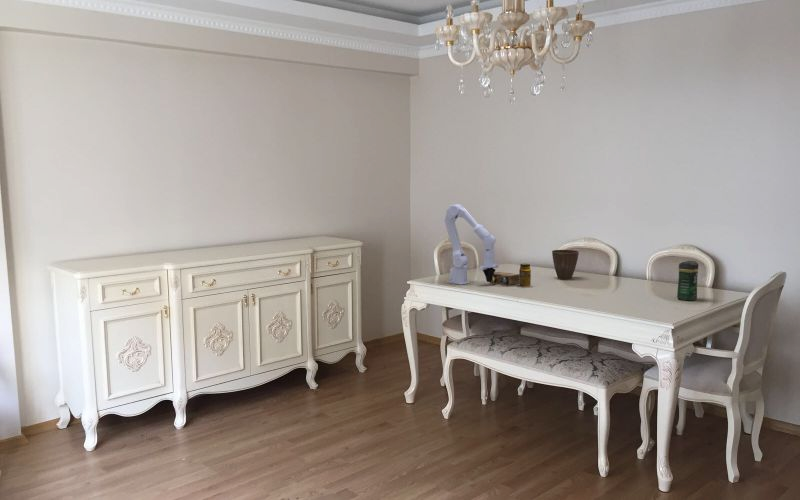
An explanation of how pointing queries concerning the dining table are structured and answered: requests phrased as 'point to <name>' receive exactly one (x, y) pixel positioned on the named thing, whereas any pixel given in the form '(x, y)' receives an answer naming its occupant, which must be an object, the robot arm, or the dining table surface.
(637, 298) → the dining table surface
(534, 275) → the dining table surface
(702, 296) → the dining table surface
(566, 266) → the plant pot
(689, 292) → the coffee jar
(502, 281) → the black knob
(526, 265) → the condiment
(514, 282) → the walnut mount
